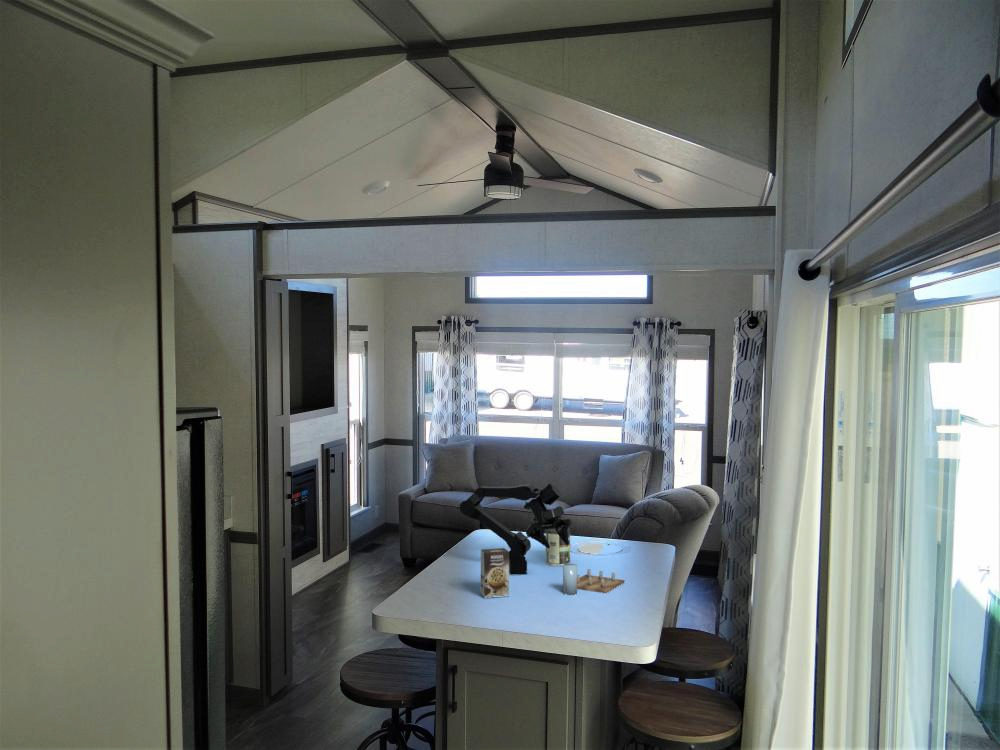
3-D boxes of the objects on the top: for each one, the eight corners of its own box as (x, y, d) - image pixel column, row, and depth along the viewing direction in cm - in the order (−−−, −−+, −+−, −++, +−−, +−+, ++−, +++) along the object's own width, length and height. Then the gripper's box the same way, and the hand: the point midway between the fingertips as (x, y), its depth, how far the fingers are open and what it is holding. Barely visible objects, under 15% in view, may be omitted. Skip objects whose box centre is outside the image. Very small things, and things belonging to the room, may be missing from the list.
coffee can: (569, 560, 333) (569, 526, 333) (571, 566, 323) (571, 531, 323) (544, 560, 333) (544, 526, 333) (545, 566, 323) (545, 531, 323)
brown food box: (484, 599, 278) (484, 552, 278) (480, 594, 284) (479, 548, 284) (509, 596, 281) (509, 551, 280) (504, 591, 287) (504, 547, 287)
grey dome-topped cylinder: (565, 595, 281) (565, 567, 281) (561, 591, 286) (561, 564, 286) (579, 594, 283) (578, 566, 282) (574, 590, 287) (574, 563, 287)
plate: (557, 546, 360) (557, 544, 360) (612, 540, 370) (612, 539, 370) (585, 559, 334) (585, 558, 334) (643, 553, 344) (643, 552, 344)
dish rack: (566, 586, 292) (566, 576, 292) (585, 577, 306) (585, 566, 306) (606, 593, 284) (606, 582, 284) (624, 582, 297) (624, 572, 297)
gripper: (530, 502, 298) (549, 536, 289) (568, 497, 309) (587, 530, 300) (517, 519, 305) (535, 554, 296) (555, 514, 316) (573, 547, 307)
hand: (558, 546), depth 300 cm, fingers open, 9 cm apart
